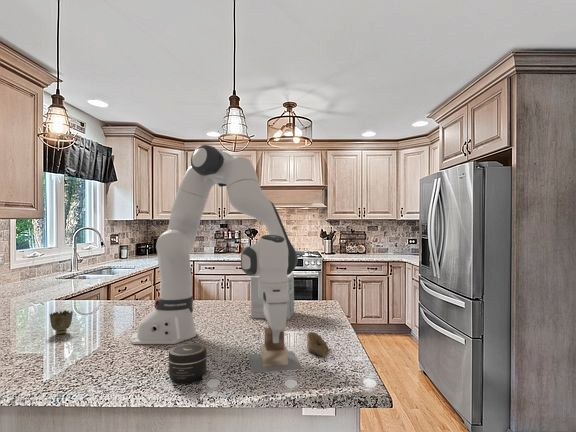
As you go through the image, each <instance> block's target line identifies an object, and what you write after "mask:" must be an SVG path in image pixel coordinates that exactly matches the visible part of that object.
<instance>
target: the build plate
mask: <svg viewBox="0 0 576 432" xmlns="http://www.w3.org/2000/svg"><path fill="white" fill-rule="evenodd" d="M247 356H248V360H249V361H248V362H249V364H250V369H251V373H252V374H255V373H268V372H280V371H291V370H303V366H302V364H301V363H300V361H299V359H298V358H297V356H296V354H295V352H294V351H293V350H291V351H288V365H279V366H266V367H263V364H262V360H261V353H249V354H247Z"/></svg>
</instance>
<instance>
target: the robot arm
mask: <svg viewBox="0 0 576 432" xmlns="http://www.w3.org/2000/svg"><path fill="white" fill-rule="evenodd" d="M215 185H218V187H220V188H221V187H226V191H227V195H228V196H227V197H228V201H229V202H230V205H231V206H232V207H233V209H235V210H236V211H237V212H238V213H240V214H243V215H246V216H250V217H251V218H254V219H257V220H258V221H260V222H261V223H263V225H264V226H265V227H266V229H267V232H268V234H264V235H261V236H260V238H259V239H258V242H256V243H254V244H252V245H250V246H247V247H245V249H243V251H242V252H241V255H240V268H241V270H242V271H243V272H244V273H245V274H246V275H247V276H249V277H252V276H259V280H258V297H259V298H261V299H263V303H264V315H265V317H266V318H265V320H266V321H267V326H268V327H267V328H271V330H272V341H273V343H279V335H280V332H282V331H284V332H285V330H286V328H287V320H288V319H287V302H289V293H288V276H287V275H289V274H290V273H293V271H294V270H295V269H296V267H297V265H298V263H299V262H298V261H299V258H298V253H297V250H296V249H295V247H294V246H293V244H292V243H291V240H290V238H289V236H288V234H287V231H286V229H285V225H284V224H283V222H282V219H281V217H280V215H279V213H278V209H277V208H276V206H275V204H274V203H273V202H272V201H271V200H269V198H267V196H266V195H265V193H264V191H263V190H262V188H261V185H260V181H259V177H258V175H257V171H256V170H255V167H254V165H253V162H252V161H251V160H250V159H249V158H247V157H245V156H237V157H234V156H232V155H231V154H229V153H228V152H225V151H223V150H221V149H219V148H216V147H215V146H213V145H209V144H201V145H199V146H197V147H196V148H195V149H194V151H193V152H192V154H191V157H190V166H189V167H188V168H187V170H186V172H185V173H184V175H183V177H182V179H181V182H180V183H179V186H178V189H177V192H176V195H175V198H174V201H173V203H172V207H171V210H170V217H169V222H168V226H167V230H165V231H164V232H163V233H161V234H160V235H159V237H158V238H157V240H156V244H155V249H156V255H157V262H158V270H159V276H160V283H159V285H160V287H159V289H160V293H159V294H160V296H157V297H156V298H155V299H154V309H153V310H151V311H150V312H149V313H148V314H146V316H144V317H143V318H141V320H140V322H139V324H138V328H137V331H136V332H134V333H133V334H132V335H131V337H130V343H131V344H132V345H176V344H178V343H181V342H183V341H187V340H191V339H192V338H194V337H196V336H197V335H198V334H197V330H196V327H195V322H194V316H193V315H194V313H193V311H194V296H193V294H192V293H193V292H192V291H193V289H192V287H193V283H192V280H193V277H192V276H193V275H192V270H191V269H192V267H191V261H190V253H191V252H192V251H193V248H194V246H195V243H196V239H197V236H198V233H199V227H200V225H201V224H200V223H201V220H202V216H203V214H204V211H205V207H206V206H207V203H208V202H207V201H208V199H209V195H210V192H211V190H212V187H213V186H215Z"/></svg>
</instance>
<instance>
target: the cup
mask: <svg viewBox="0 0 576 432" xmlns="http://www.w3.org/2000/svg"><path fill="white" fill-rule="evenodd" d="M49 320H50V326H51V329H53V331H55V335H57V336H58V335H59V336H60V335H65V334H67V332H68V329H69V328H70V327H71V325H72V321H73V311H72V310H71V311H70V312H69V310H66V309H65V310H63V311H62V310H60V311H59V312H58V311H56V312H51V313H49Z"/></svg>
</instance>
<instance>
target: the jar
mask: <svg viewBox="0 0 576 432" xmlns="http://www.w3.org/2000/svg"><path fill="white" fill-rule="evenodd" d="M207 355H208V353H207V347H206V346H205V345H204V344H200V343H183V344H179V345H176V346H174V347H172V348H170V349H169V351H168V358H167V359H168V361H167V362H168V375H169V379H170V381H171V382H172V383H174V384H177V385H190V384H195V383H197V382H200V381H202V380H203V377H204V376H205V375H206V373H207V357H208V356H207Z"/></svg>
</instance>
